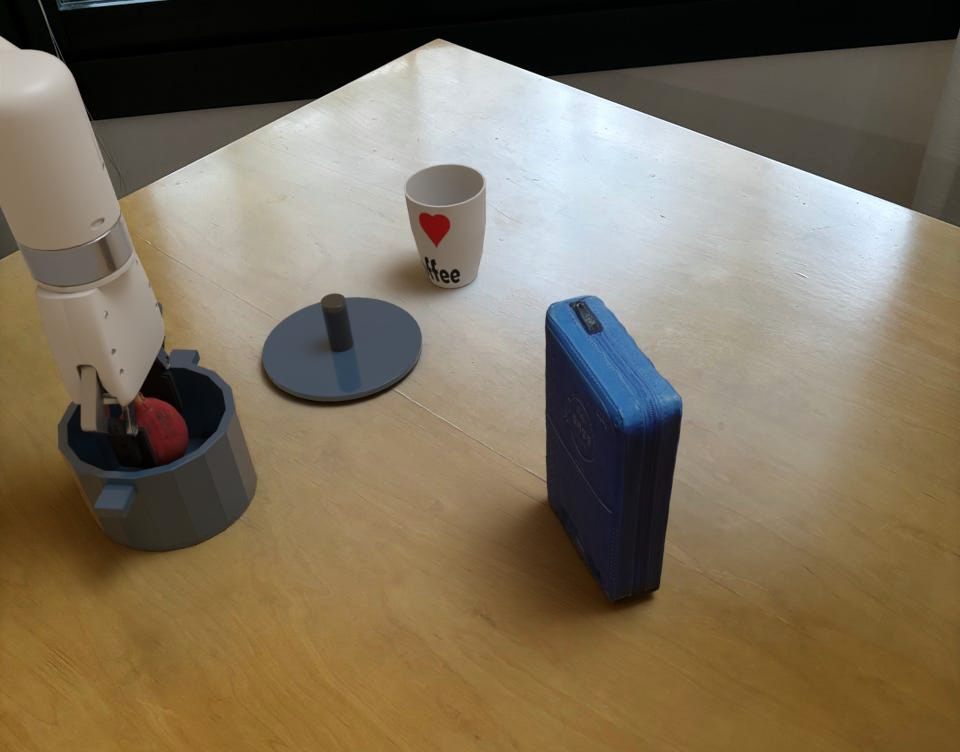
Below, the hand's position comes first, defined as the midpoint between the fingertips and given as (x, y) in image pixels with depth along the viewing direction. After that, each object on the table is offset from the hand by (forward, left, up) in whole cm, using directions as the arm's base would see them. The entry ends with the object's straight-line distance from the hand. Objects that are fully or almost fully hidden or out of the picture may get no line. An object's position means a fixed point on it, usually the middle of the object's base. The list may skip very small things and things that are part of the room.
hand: (152, 435), depth 91 cm
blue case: (+38, -4, -7) cm, 39 cm away
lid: (+11, +20, -6) cm, 24 cm away
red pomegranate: (0, 0, -4) cm, 4 cm away
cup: (+20, +34, -7) cm, 40 cm away
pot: (0, 0, -6) cm, 6 cm away
